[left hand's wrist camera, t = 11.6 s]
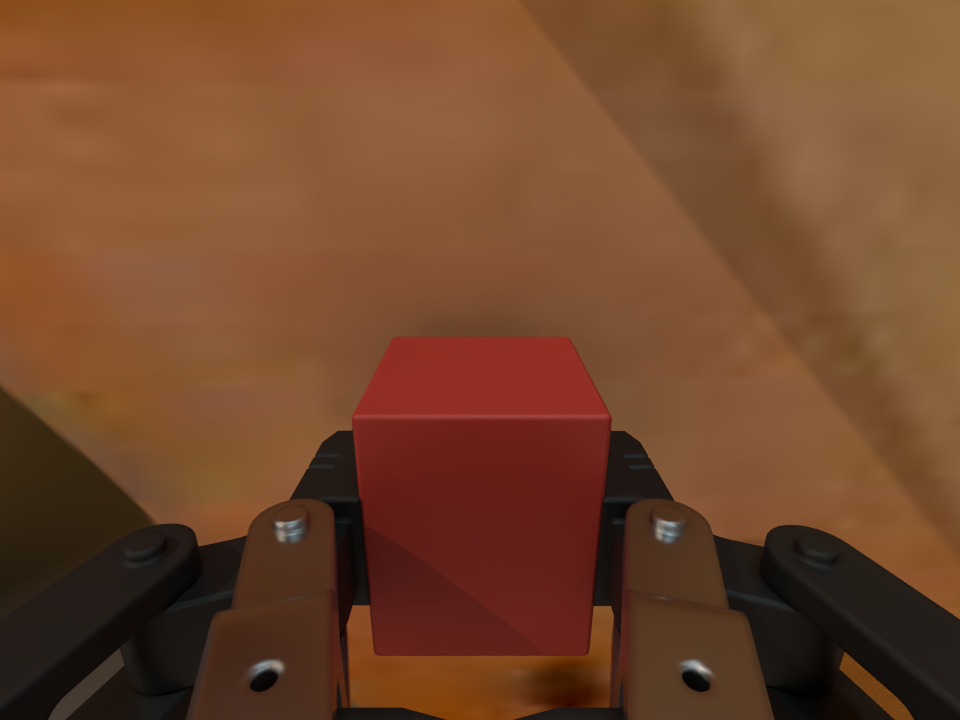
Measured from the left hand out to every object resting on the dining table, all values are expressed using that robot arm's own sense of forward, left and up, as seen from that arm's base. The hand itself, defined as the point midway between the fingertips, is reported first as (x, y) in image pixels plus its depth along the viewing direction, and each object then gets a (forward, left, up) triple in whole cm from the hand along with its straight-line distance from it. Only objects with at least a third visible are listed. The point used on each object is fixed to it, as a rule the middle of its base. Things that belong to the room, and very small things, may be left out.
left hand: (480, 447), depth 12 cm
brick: (0, 0, 0) cm, 0 cm away
